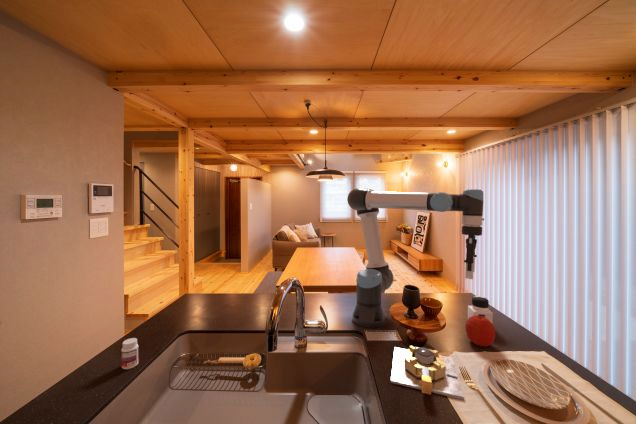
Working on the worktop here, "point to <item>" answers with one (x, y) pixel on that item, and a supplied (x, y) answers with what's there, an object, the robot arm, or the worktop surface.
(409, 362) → the yellow piece
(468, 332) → the apple
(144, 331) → the worktop surface
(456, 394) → the flange plate
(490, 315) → the container
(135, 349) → the pill bottle
